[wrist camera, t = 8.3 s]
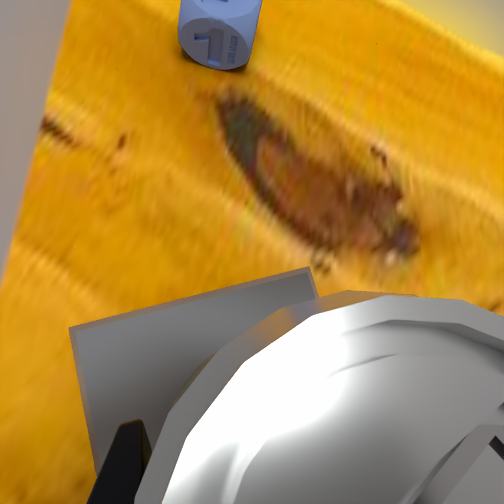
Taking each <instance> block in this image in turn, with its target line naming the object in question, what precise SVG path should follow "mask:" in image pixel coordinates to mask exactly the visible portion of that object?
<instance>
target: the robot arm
mask: <svg viewBox="0 0 504 504" xmlns="http://www.w3.org/2000/svg"><path fill="white" fill-rule="evenodd" d="M151 456H152V449H151V445H150V442H149V439H148V435H147V432H146V429H145V426H144V423H143V421H142V420H141V419H134V420H131V421H127V422H124V423H121V424H120V425H119V427H118V429H117V431H116V433H115V436H114V438H113V441H112V443H111V445H110V448H109V450H108V453H107V455H106V457H105V460H104V462H103V465H102V467H101V469H100V472H99V474H98V477H97V479H96V481H95V484H94V486H93V489H92V491H91V493H90V496H89V498H88V501H87V503H86V504H134V502H135V496H136V493H137V491H138V488H139V486H140V483H141V481H142V478H143V476H144V473H145V471H146V468H147V466H148V463H149V461H150V458H151Z"/></svg>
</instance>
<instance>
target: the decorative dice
mask: <svg viewBox="0 0 504 504" xmlns="http://www.w3.org/2000/svg"><path fill="white" fill-rule="evenodd" d="M261 4H262V0H181V5H180V13H179V23H178V40H179V43H180V45H181V46H182V48H183V49H184V50H185V51H186V53H187V54H188V55H189V56H190V57H191V58H192V59H194V60H195V61H197V62H198V63H200V64H202V65H204V66H207V67H210V68H213V69H219V70H228V69H233V68H237V67H239V66H242V65H244V64H246V63H247V62H249V58H250V54H251V49H252V45H253V41H254V36H255V32H256V27H257V23H258V18H259V13H260V9H261Z"/></svg>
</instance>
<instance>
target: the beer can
mask: <svg viewBox="0 0 504 504" xmlns="http://www.w3.org/2000/svg"><path fill="white" fill-rule="evenodd" d="M134 504H504V317H503V316H501V315H498V314H496V313H493V312H490V311H488V310H485V309H483V308H480V307H478V306H475V305H473V304H470V303H468V302H465V301H463V300H454V299H439V298H423V297H419V296H416V295H412V294H397V293H382V292H366V291H351V290H346V291H342V292H339V293H335V294H331V295H328V296H324V297H320V298H316V299H313V300H309V301H305V302H302V303H298V304H294V305H290V306H287V307H283V308H280V309H279V310H277V311H276V312H274V313H273V314H271V315H270V316H268V317H267V318H265V319H264V320H262V321H261V322H259V323H258V324H256V325H255V326H253V327H252V328H250V329H249V330H247V331H246V332H244V333H243V334H241V335H240V336H238V337H237V338H235V339H234V340H232V341H231V342H229V343H228V344H226V345H225V346H223V347H222V348H220V349H219V350H218V351H216V352H215V353H214V354H213V355H211V356H210V357H209V358H208V359H206V360H205V361H204V362H203V363H202V364H200V365H199V366H198V368H197V369H196V370H195V371H194V373H193V374H192V375H191V376H190V378H189V379H188V380H187V381H186V383H185V384H184V385H183V387H182V388H181V390H180V392H179V394H178V396H177V398H176V400H175V402H174V404H173V405H172V407H171V409H170V411H169V413H168V415H167V418H166V420H165V423H164V425H163V428H162V431H161V433H160V436H159V438H158V441H157V443H156V446H155V448H154V451H153V453H152V456H151V458H150V461H149V463H148V466H147V468H146V471H145V473H144V476H143V478H142V481H141V483H140V486H139V488H138V491H137V493H136V496H135V502H134Z"/></svg>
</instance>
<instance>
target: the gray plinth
mask: <svg viewBox="0 0 504 504" xmlns="http://www.w3.org/2000/svg"><path fill="white" fill-rule="evenodd" d="M316 298H319V296H318V293H317V290H316V286H315V283H314V280H313V277H312V274H311V270H310V267H309V266H308V267H304V268H300V269H296V270H292V271H289V272H285V273H281V274H277V275H273V276H269V277H265V278H261V279H257V280H253V281H249V282H245V283H241V284H238V285H234V286H230V287H226V288H222V289H218V290H214V291H210V292H206V293H202V294H198V295H194V296H190V297H186V298H183V299H179V300H175V301H171V302H167V303H163V304H159V305H155V306H151V307H147V308H143V309H139V310H135V311H132V312H128V313H124V314H120V315H116V316H112V317H108V318H104V319H100V320H96V321H92V322H88V323H84V324H80V325H77V326H73V327H69V333H70V338H71V343H72V349H73V354H74V359H75V364H76V370H77V375H78V380H79V385H80V391H81V396H82V401H83V406H84V412H85V417H86V422H87V427H88V433H89V438H90V443H91V448H92V454H93V459H94V464H95V469H96V475H97V477H98V474H99V472H100V469H101V467H102V465H103V462H104V460H105V457H106V455H107V453H108V450H109V448H110V445H111V443H112V441H113V438H114V436H115V433H116V431H117V429H118V427H119V425H120V424H121V423H124V422H127V421H131V420H134V419H141V420H142V421H143V423H144V426H145V429H146V432H147V435H148V439H149V442H150V445H151V449H152V453H153V451H154V448H155V446H156V443H157V441H158V438H159V436H160V433H161V431H162V428H163V425H164V423H165V420H166V418H167V415H168V413H169V411H170V409H171V407H172V405H173V404H174V402H175V400H176V398H177V396H178V394H179V392H180V390H181V388H182V387H183V385H184V384H185V383H186V381H187V380H188V379H189V378H190V376H191V375H192V374H193V373H194V371H195V370H196V369H197V368H198V366H199V365H200V364H202V363H203V362H204V361H205V360H206V359H208V358H209V357H210V356H211V355H213V354H214V353H215V352H216V351H218V350H219V349H220V348H222V347H223V346H225V345H226V344H228V343H229V342H231V341H232V340H234V339H235V338H237V337H238V336H240V335H241V334H243V333H244V332H246V331H247V330H249V329H250V328H252V327H253V326H255V325H256V324H258V323H259V322H261V321H262V320H264V319H265V318H267V317H268V316H270V315H271V314H273V313H274V312H276V311H277V310H279V309H280V308H283V307H287V306H290V305H294V304H298V303H302V302H305V301H309V300H313V299H316Z"/></svg>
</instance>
